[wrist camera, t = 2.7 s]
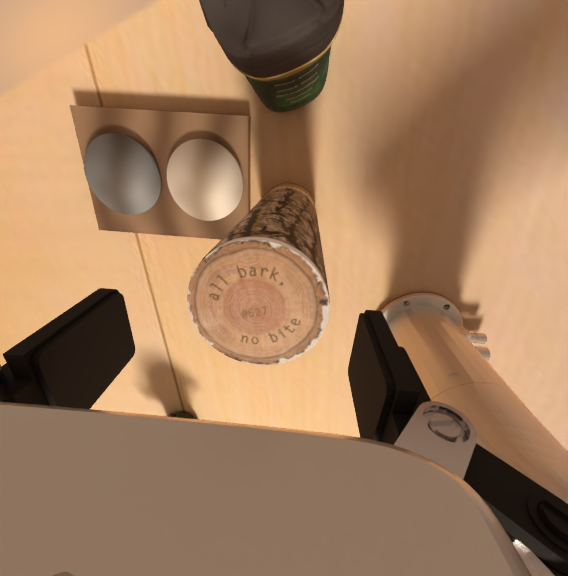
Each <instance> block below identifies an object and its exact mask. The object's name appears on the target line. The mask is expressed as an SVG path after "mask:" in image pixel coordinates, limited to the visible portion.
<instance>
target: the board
mask: <svg viewBox="0 0 568 576" xmlns="http://www.w3.org/2000/svg"><path fill="white" fill-rule="evenodd" d="M70 109H71V113H72V117H73V121H74V125H75V130H76V134H77V138H78V142H79V146H80V151H81V155H82V159H83V163H84V171H85V175H86V179H87V181H88V184H89V189H90V193H91V197H92V201H93V205H94V210H95V214H96V218H97V222H98V226H99V230H108V231H120V232H133V233H146V234H159V235H171V236H184V237H197V238H210V239H223V238H224V237H225V236H226V235H227V234H228V233H229V232H230V231H231V230H232V229H233V228H234V227H235V226H236V225H237V224H238V223H239V222H240V221H241V220H242V219H243V218H244V217H245V215H246V214H247V213H248V212H249V211H250V126H251V117H249V116H242V115H225V114H208V113H191V112H174V111H158V110H141V109H124V108H107V107H90V106H73V105H70Z"/></svg>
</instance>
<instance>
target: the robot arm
mask: <svg viewBox="0 0 568 576" xmlns="http://www.w3.org/2000/svg"><path fill="white" fill-rule="evenodd" d="M486 341H487V337H486V335H485V334H482V333H469V332H468V331H467V330H466V329H465V328H464V327H463V320H462V316H461V314H460V312H459V310H458V309H457V308H456V307H455V306H454V305H453V303H451V302H450V301H449V300H448V299H446V298H444V297H442V296H440V295H436V294H433V293H423V292H422V293H412V294H408V295H404V296H402V297H400V298H397V299H395V300H394V301H392V302H390V303H389V304H388V305H386V306H385V307H384V308H383V309H382V310H381V311H373V310H366V311H365V313H360V315H359V319H358V324H357V329H356V333H355V338H354V343H353V348H352V352H351V357H350V362H349V367H348V376H349V382H350V387H351V392H352V397H353V402H354V407H355V412H356V417H357V422H358V427H359V432H360V438H358V437H351V436H345V435H338V434H330V433H322V432H313V431H304V430H295V429H286V428H276V427H267V426H257V425H247V424H237V423H227V422H218V421H207V420H197V419H187V418H177V417H166V416H156V415H145V414H135V413H124V412H113V411H102V410H91V409H90V408H91V407H92V405H93V404H94V403H95V402H96V401H97V399H98V398H99V397H100V396H101V395H102V393H103V392H104V391H105V390H106V389H107V387H108V386H109V385H110V384H111V383H112V381H113V380H114V379H115V378H116V376H117V375H118V374H119V373H120V372H121V370H122V369H123V368H124V367H125V366H126V364H127V363H128V362H129V361H130V360H131V358H132V357H133V356H134V353H135V345H134V340H133V336H132V332H131V327H130V323H129V319H128V314H127V310H126V305H125V301H124V297H123V295H122V294H121V293H119V291H118V290H116V289H104V288H100V289H98V290H97V291H95V292H94V293H92V294H91V295H89V296H88V297H86V298H85V299H83V300H82V301H80V302H79V303H77V304H76V305H74V306H73V307H71V308H70V309H69V310H67V311H66V312H64V313H63V314H61V315H60V316H58V317H57V318H55V319H54V320H52V321H51V322H49V323H48V324H46V325H45V326H43V327H42V328H40V329H39V330H38V331H36V332H35V333H33V334H32V335H30V336H29V337H27V338H26V339H24V340H23V341H21V342H20V343H18V344H17V345H15V346H14V347H12V348H11V349H9V350H8V351H7V352H5V353H4V354H3V356H4V358H5V360H6V362H7V363H6V364H5V365H3V366H2V367H1V365H0V576H568V451H567V450H566V449H565V448H564V447H563V446H562V445H561V444H560V443H559V442H558V441H557V440H556V439H555V438H554V436H553V435H552V434H551V433H550V432H549V431H548V430H547V429H546V428H545V427H544V426H543V425H542V423H541V422H540V421H539V420H538V419H537V418H536V417H535V416H534V415H533V414H532V413H531V411H530V410H529V409H528V408H527V407H526V406H525V404H524V403H523V402H522V401H521V400H520V399H519V398H518V396H517V395H516V394H515V393H514V392H513V391H512V390H511V388H510V387H509V386H508V385H507V384H506V383H505V382H504V380H503V379H502V378H501V377H500V376H499V375H498V373H497V372H496V371H495V370H494V369H493V368H492V367H491V365H490V364H489V363H488V362H487V360H489V358H490V351H489V349H488V348H486V347H479V346H473V345H472V343H471V342H473V343H481V344H484V343H486Z"/></svg>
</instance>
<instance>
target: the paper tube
mask: <svg viewBox="0 0 568 576" xmlns="http://www.w3.org/2000/svg"><path fill="white" fill-rule="evenodd" d="M187 300H188V308H189V312H190V315H191V318H192V320H193V323H194V325H195V326H196V328H197V330H198V331H199V333H200V334H201V335H202V337H203V338H204V339H205V340H206V341H207V342H208V343H209V344H210V345H211V346H213V347H214V348H215V349H216V350H218V351H219V352H221V353H223V354H224V355H226V356H228V357H230V358H233V359H235V360H238V361H241V362H245V363H250V364H257V365H272V364H279V363H283V362H287V361H290V360H293V359H295V358H297V357H299V356H301V355H303V354H304V353H305V352H307V351H308V350H309V349H311V348H312V347H313V346H314V345H315V344H316V343H317V341H318V340H319V339H320V337H321V336H322V334H323V332H324V330H325V328H326V326H327V322H328V318H329V309H330V305H329V292H328V285H327V279H326V272H325V266H324V259H323V253H322V246H321V240H320V233H319V227H318V220H317V214H316V209H315V204H314V201H313V198H312V197H311V195H310V194H309V193H308V191H306V190H305V189H304V188H303V187H301V186H299V185H296V184H290V183H288V184H281V185H278V186H276V187H275V188H273V189H272V190H271V191H270V192H269V193H267V194H266V195H265V196H264V197H263V198H262V199H261V200H260V201H259V202H258V203H257V204H256V205H255V206H254V207H253V208H252V209H251V210H250V211H249V212H248V213H247V214H246V215H245V217H244V218H243V219H242V220H241V221H240V222H239V223H238V224H237V225H236V226H235V227H234V228H233V229H232V230H231V231H230V232H229V233H228V234H227V235H226V236H225V237H224V238H223V239H222V240H221V241H220V242H219V243H218V244H217V245H216V246H215V247H214V248H213V249H212V250H211V251H210V252H209V253H208V254H207V255H206V256H205V257H204V258H203V259H202V261H201V262H200V263H199V265H198V266H197V267H196V269H195V271H194V273H193V274H192V277H191V279H190V283H189V286H188V297H187Z"/></svg>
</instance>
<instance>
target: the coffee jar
mask: <svg viewBox="0 0 568 576" xmlns="http://www.w3.org/2000/svg"><path fill="white" fill-rule="evenodd" d="M199 1H200V5H201V8H202V11H203V14H204V17H205V20H206V23H207V26H208V27H209V28H210V30H211V31H212V32H213V33H214V35H215V37H216V39H217V41H218V43H219V44H220V46H221V47H222V49H223V51H224V53H225V54H226V56H227V58H228V59H229V60H230V62H231V63H232V64H233V65H234V66H235V68H237V69H238V70H239V71H240V72H241V73H243V74H244V75H245V76H246V78H247V79H248V81H249V82H250V84H251V85H252V87H253V89H254V90H255V92H256V94H257V95H258V97H259V98H260V100H261V101H262V102H263V104H264V105H265V106H266V107H267V108H269V109H270V110H272V111H275V112H286V111H290V110H293V109H296V108H299V107H301V106H304V105H306V104H307V103H309V102H311V101H312V100H314V99H315V98H316V97H317V96H318V95H319V94H320V92H321V91H322V89H323V87H324V84H325V81H326V77H327V71H328V64H329V56H330V49H331V45H332V43H333V41H334V39H335V37H336V35H337V33H338V30H339V28H340V24H341V21H342V15H343V7H344V0H199Z"/></svg>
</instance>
